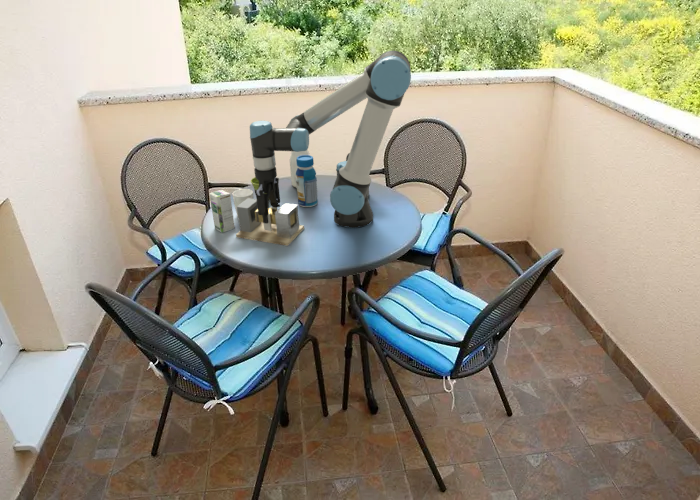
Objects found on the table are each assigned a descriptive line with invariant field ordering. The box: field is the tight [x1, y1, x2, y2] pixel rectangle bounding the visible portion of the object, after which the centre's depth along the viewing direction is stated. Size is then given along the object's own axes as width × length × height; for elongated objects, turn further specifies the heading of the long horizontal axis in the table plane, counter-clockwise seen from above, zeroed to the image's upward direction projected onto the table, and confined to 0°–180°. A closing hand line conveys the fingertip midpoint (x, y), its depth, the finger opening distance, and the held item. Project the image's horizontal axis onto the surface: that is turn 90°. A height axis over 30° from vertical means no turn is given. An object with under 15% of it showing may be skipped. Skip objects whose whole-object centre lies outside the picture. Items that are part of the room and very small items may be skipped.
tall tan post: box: [255, 207, 295, 226], centre depth 186 cm, size 14×4×4 cm, turn 70°
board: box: [235, 222, 305, 247], centre depth 190 cm, size 21×14×1 cm, turn 70°
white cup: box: [231, 188, 254, 218], centre depth 201 cm, size 8×8×10 cm
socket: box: [236, 198, 261, 232], centre depth 190 cm, size 4×8×10 cm, turn 160°
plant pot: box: [250, 176, 267, 194], centre depth 215 cm, size 9×9×9 cm
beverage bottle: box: [296, 154, 319, 208], centre depth 207 cm, size 8×8×20 cm
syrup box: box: [209, 189, 236, 234], centre depth 191 cm, size 6×6×14 cm
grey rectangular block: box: [275, 202, 300, 239], centre depth 185 cm, size 5×8×10 cm, turn 160°
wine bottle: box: [289, 148, 311, 189], centre depth 222 cm, size 10×10×30 cm
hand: (271, 226), depth 188 cm, fingers open, 5 cm apart
